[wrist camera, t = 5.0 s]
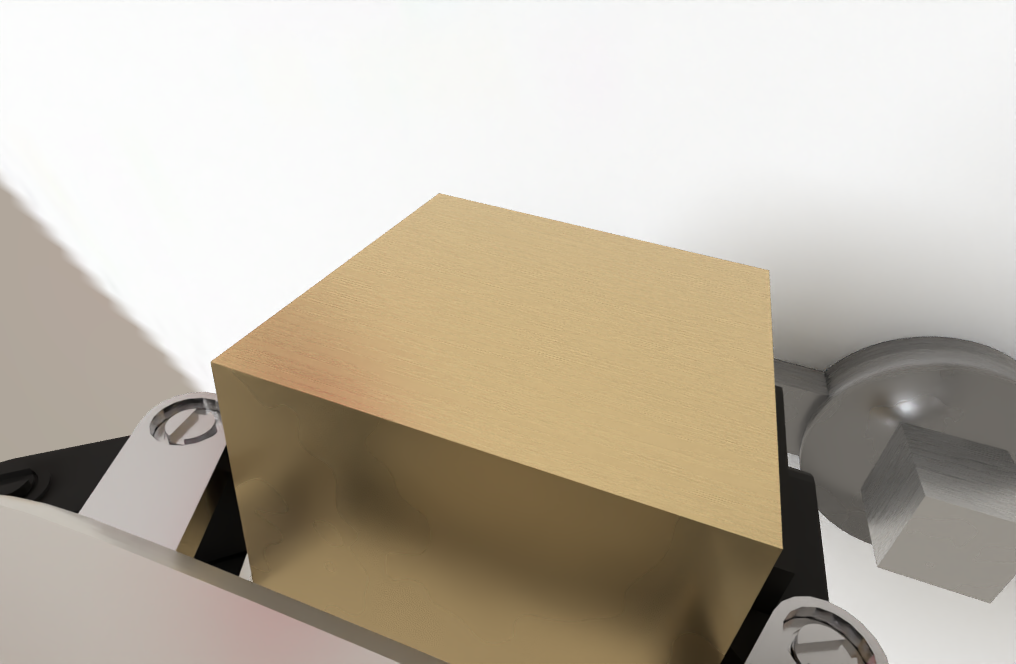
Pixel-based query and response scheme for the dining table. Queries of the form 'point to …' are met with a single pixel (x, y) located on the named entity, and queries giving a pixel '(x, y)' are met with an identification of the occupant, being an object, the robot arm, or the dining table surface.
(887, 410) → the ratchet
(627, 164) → the dining table surface
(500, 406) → the brushed gold cube
